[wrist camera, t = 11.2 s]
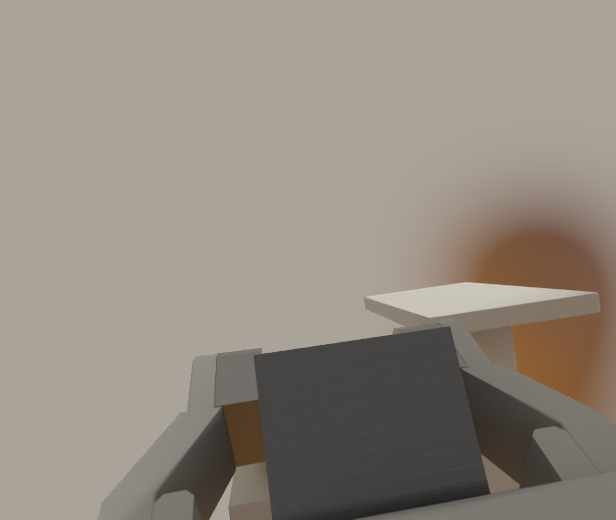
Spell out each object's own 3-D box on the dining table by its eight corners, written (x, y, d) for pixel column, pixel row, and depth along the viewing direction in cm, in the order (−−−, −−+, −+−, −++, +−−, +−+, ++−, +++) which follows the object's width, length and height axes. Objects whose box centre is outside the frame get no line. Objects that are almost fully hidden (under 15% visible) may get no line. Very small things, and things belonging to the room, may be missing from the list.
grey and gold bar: (254, 446, 29) (249, 397, 30) (363, 428, 30) (354, 380, 31) (120, 621, 6) (113, 375, 7) (641, 521, 6) (573, 308, 7)
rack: (275, 629, 38) (233, 315, 38) (507, 582, 40) (466, 282, 40) (280, 892, 22) (207, 351, 22) (667, 794, 24) (598, 292, 24)
